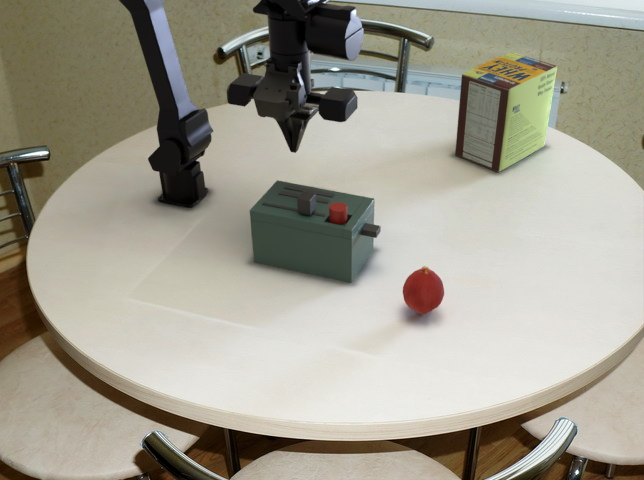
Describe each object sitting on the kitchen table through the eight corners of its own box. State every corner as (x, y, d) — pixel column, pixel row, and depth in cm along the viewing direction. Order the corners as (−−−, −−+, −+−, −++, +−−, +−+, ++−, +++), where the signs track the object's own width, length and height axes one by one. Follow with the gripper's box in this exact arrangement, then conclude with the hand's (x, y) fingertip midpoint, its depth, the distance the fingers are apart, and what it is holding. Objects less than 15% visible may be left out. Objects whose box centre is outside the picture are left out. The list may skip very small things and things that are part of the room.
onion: (399, 301, 124) (402, 254, 119) (439, 300, 124) (443, 253, 119) (404, 325, 119) (406, 278, 114) (444, 324, 120) (449, 276, 115)
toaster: (253, 262, 131) (249, 209, 125) (280, 230, 138) (277, 179, 132) (366, 286, 127) (367, 233, 121) (387, 252, 134) (389, 200, 128)
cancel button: (326, 222, 123) (326, 209, 122) (333, 214, 125) (333, 200, 124) (343, 226, 123) (343, 212, 121) (349, 217, 125) (349, 204, 123)
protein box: (545, 146, 163) (558, 65, 153) (498, 173, 154) (509, 89, 144) (500, 130, 168) (510, 50, 158) (453, 155, 160) (460, 72, 149)
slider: (297, 213, 124) (296, 198, 122) (303, 205, 126) (303, 190, 124) (310, 215, 124) (309, 200, 122) (316, 207, 125) (316, 193, 124)
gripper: (203, 58, 117) (215, 163, 127) (330, 78, 113) (332, 185, 123) (239, 32, 125) (247, 133, 135) (359, 49, 121) (358, 153, 131)
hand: (294, 151), depth 131 cm, fingers closed
